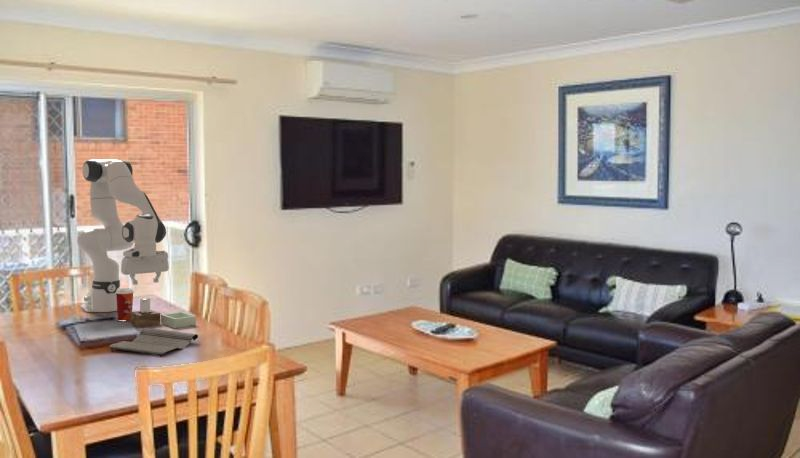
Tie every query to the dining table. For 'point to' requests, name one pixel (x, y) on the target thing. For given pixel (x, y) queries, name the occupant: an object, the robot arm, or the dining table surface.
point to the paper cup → (124, 303)
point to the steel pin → (145, 306)
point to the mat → (156, 342)
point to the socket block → (145, 318)
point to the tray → (178, 319)
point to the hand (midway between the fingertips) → (145, 283)
